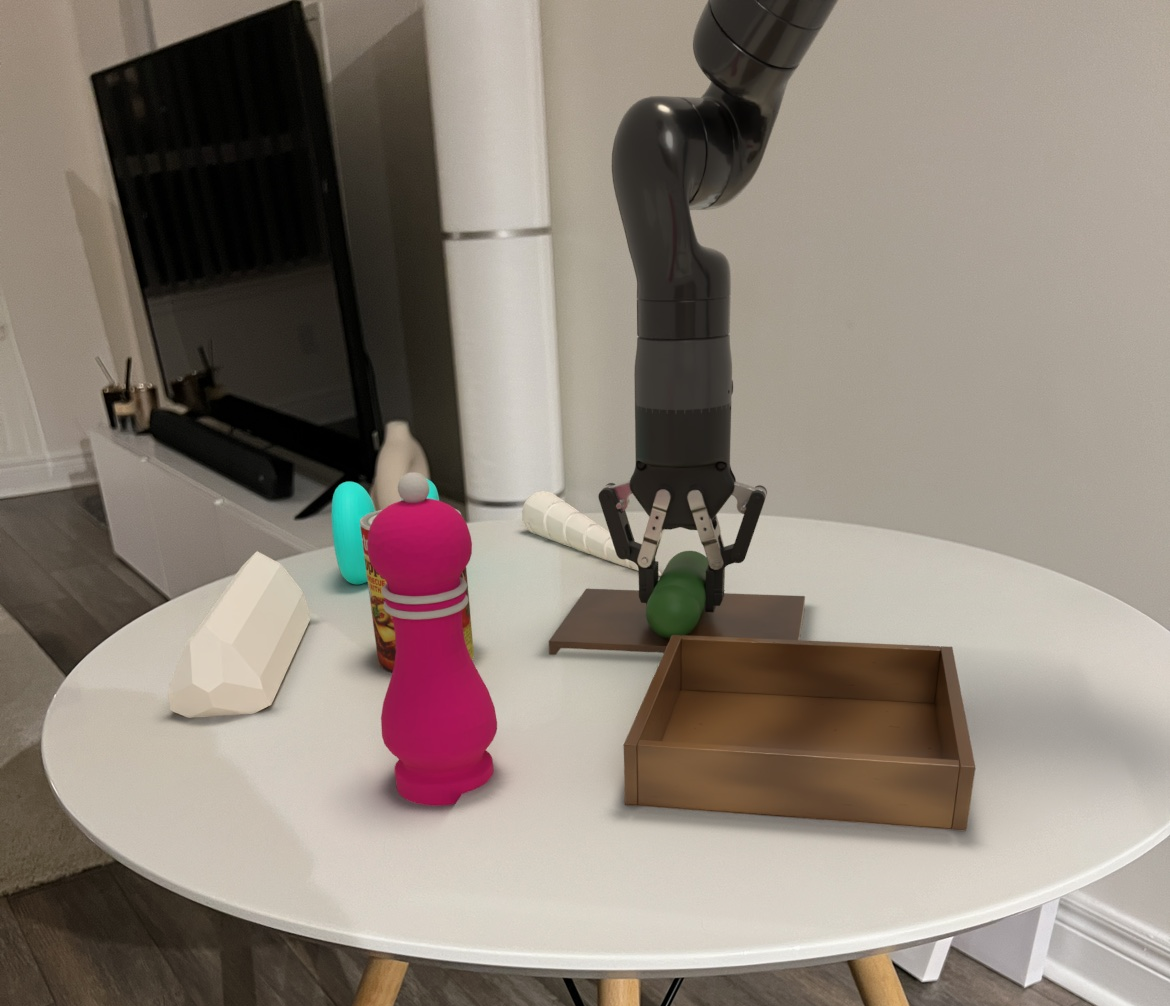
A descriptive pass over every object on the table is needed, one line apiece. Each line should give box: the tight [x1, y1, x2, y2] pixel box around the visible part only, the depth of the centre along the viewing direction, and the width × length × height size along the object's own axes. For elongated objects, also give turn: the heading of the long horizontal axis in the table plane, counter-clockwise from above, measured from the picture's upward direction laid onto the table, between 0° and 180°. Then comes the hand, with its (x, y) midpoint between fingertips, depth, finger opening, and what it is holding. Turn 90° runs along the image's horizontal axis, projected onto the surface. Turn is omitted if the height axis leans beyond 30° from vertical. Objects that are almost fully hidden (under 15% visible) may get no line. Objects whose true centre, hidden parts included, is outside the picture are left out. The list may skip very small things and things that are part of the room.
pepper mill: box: [367, 471, 498, 807], centre depth 66 cm, size 7×7×20 cm
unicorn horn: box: [521, 490, 662, 577], centre depth 116 cm, size 5×24×5 cm, turn 29°
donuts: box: [331, 478, 440, 586], centre depth 109 cm, size 10×10×10 cm
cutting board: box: [548, 588, 806, 656], centre depth 94 cm, size 20×14×2 cm
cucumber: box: [646, 550, 709, 639], centre depth 93 cm, size 14×4×4 cm, turn 167°
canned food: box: [360, 508, 475, 674], centre depth 88 cm, size 8×8×12 cm
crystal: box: [168, 550, 312, 719], centre depth 90 cm, size 7×7×24 cm
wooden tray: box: [623, 635, 976, 832], centre depth 71 cm, size 20×19×5 cm
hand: (681, 607), depth 93 cm, fingers closed on cucumber, 4 cm apart
